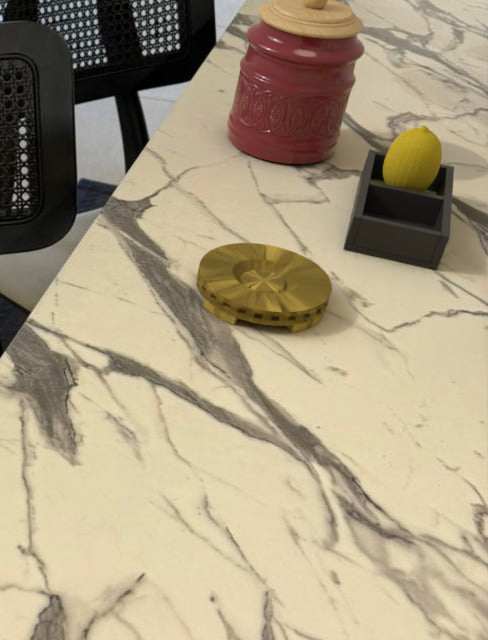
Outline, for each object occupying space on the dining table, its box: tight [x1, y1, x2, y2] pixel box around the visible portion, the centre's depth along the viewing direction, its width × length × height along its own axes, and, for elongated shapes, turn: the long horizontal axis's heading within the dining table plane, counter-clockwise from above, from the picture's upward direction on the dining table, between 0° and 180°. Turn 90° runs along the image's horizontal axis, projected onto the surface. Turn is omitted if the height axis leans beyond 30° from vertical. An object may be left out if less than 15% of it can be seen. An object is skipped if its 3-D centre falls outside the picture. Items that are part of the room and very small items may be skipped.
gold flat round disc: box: [195, 242, 333, 333], centre depth 93 cm, size 12×12×2 cm
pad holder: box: [343, 149, 455, 271], centre depth 106 cm, size 9×17×4 cm, turn 160°
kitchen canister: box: [226, 0, 366, 165], centre depth 115 cm, size 13×13×18 cm
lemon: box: [383, 125, 443, 192], centre depth 107 cm, size 6×6×8 cm
